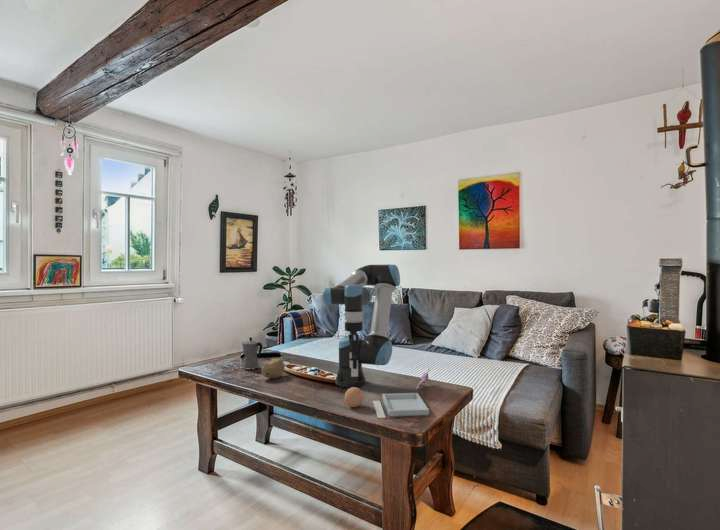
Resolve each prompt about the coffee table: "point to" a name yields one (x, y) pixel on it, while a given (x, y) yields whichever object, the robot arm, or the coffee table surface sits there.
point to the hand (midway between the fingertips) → (353, 371)
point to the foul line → (379, 409)
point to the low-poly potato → (273, 368)
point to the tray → (404, 405)
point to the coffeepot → (251, 353)
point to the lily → (425, 378)
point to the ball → (354, 397)
